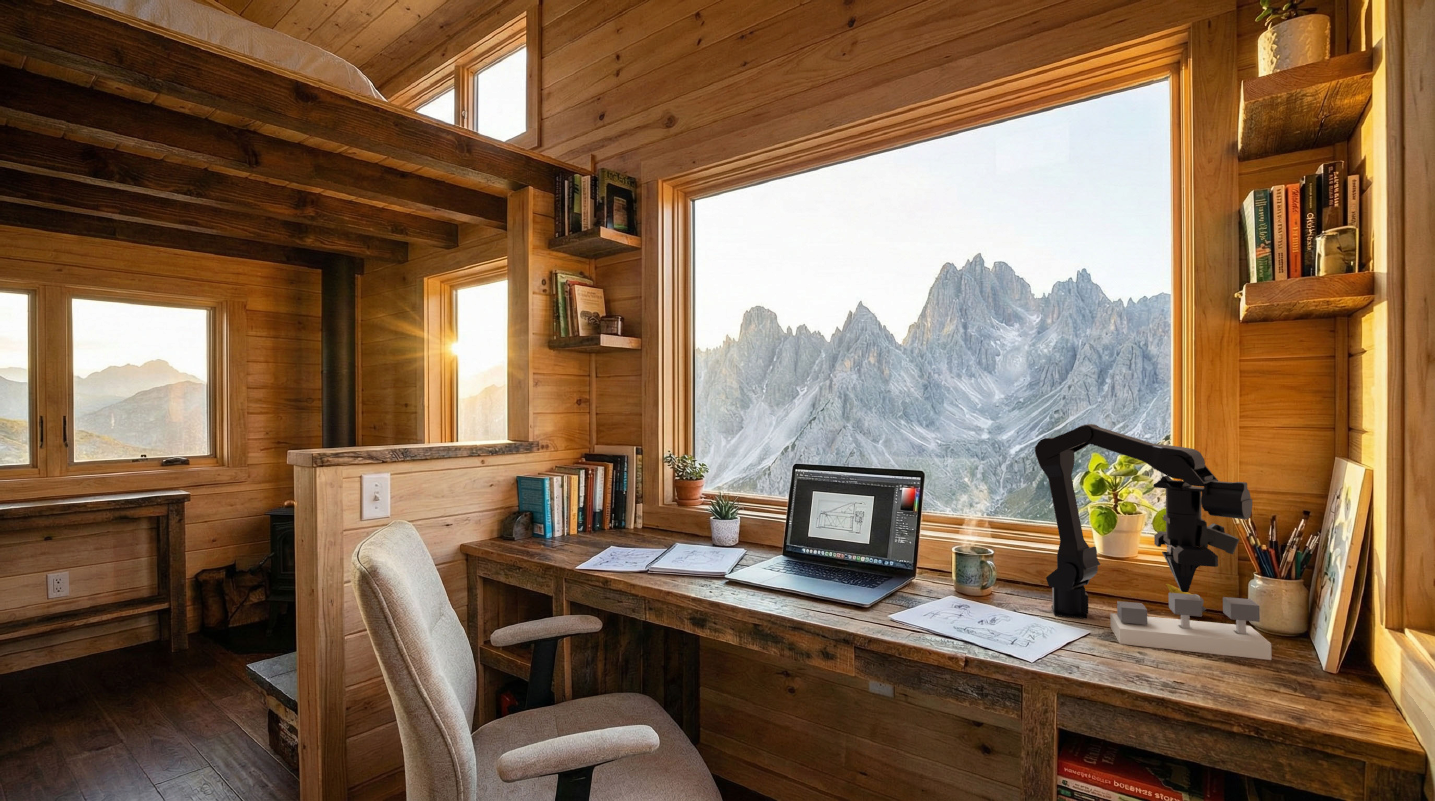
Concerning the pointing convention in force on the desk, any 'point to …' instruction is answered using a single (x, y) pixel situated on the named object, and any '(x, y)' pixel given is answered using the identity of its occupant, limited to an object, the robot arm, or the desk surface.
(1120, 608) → the button
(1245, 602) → the button
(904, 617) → the desk surface
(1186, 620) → the button middle
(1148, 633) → the console
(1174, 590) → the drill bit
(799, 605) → the desk surface
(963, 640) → the desk surface
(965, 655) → the desk surface
